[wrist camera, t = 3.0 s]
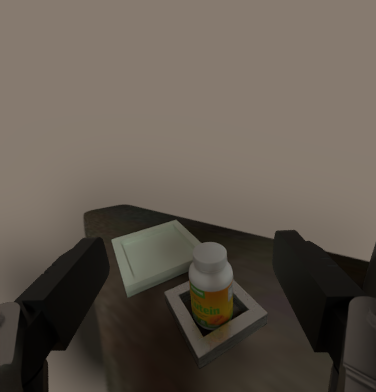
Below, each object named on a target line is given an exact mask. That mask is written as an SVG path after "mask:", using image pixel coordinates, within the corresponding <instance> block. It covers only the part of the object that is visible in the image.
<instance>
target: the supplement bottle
mask: <svg viewBox="0 0 376 392" xmlns="http://www.w3.org/2000/svg"><path fill="white" fill-rule="evenodd" d="M192 254H193V262H192V264H191V265H190V267H189V285H190V295H191V306H192V314H193V317H194V319H195V321H196V322H197V324H198V325H200V326H201V327H203V328H205V329H207V330H216V329H218V328H220V327H221V326H223V325H224V324H226V323H228V322H229V321H231V319H232V315H233V271H232V267H231V265H230V264H229V263H228V262H227V252H226V249H225V248H224V247H223V246H222V245H220V244H218V243H215V242H205V243H201V244H199V245H197V246H196V247H195V248H194V249H193V253H192Z"/></svg>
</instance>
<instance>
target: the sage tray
mask: <svg viewBox="0 0 376 392" xmlns="http://www.w3.org/2000/svg"><path fill="white" fill-rule="evenodd" d="M112 244H113V248H114V252H115V255H116V259H117V262H118V266H119V269H120V273H121V276H122V280H123V283H124V287H125V290H126V294H127V297H130V296H133V295H135V294H137V293H139V292H142V291H144V290H146V289H149V288H151V287H153V286H156V285H158V284H160V283H163V282H165V281H167V280H170V279H172V278H174V277H176V276H179V275H181V274H183V273H186V272H188V271H189V267H190V265H191V264H192V262H193V254H192V253H193V249H194V248H195V247H196V246H197V245H199V244H201V242H199V241H198V240H197V239H196V238H195V237H194V236H193V235H192V234H191V233H190V232H189V231H188V230H187V229H186V228H185V227H183V226H182V225H181V224H180V223H179V222H178V221H177V220H174V221H171V222H167V223H164V224H161V225H158V226H154V227H151V228H148V229H145V230H141V231H138V232H135V233H131V234H128V235H125V236H122V237H118V238H115V239H112Z"/></svg>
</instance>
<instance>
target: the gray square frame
mask: <svg viewBox="0 0 376 392" xmlns="http://www.w3.org/2000/svg"><path fill="white" fill-rule="evenodd" d="M164 294H165V300H166V303H167V305H168V307H169V309H170V311H171V313H172V315H173V317H174V319H175V321H176V323H177V325H178V327H179V329H180V331H181V333H182V335H183V337H184V339H185V341H186V343H187V345H188V347H189V349H190V351H191V353H192V355H193V357H194V359H195V361H196V363H197V365H198V367H199V369H201V368H202V367H204V366H205V365H207V364H208V363H210V362H211V361H213V360H214V359H216V358H217V357H219V356H220V355H221V354H223V353H224V352H226V351H227V350H229V349H230V348H232V347H233V346H235V345H236V344H238V343H239V342H241V341H242V340H244V339H245V338H247V337H248V336H250V335H251V334H253V333H254V332H256V331H257V330H259V329H260V328H261V327H263V326H264V325H266V324H267V316H268V313H267V312H266V311H265V310H264V309H263V308H262V307H261V306H260V305H259V304H258V303H257V302H256V301H255V300H254V299H253V298H252V297H251V296H250V295H249V294H248V293H246V292H245V291H244V290H243V289H242V288H241V287H240V286H239V285H238V284H237V283H236V282H235V281H234V280H233V303H234V304H235V305H236V306H237V307H238V308H239V309H240V311H241V312H242V313H243V314H241V315H239V316H238V317H236V318H234V319H233V320H231V321H229V322H228V323H226V324H224V325H223V326H221V327H220V328H218V329H216V330H215V331H213V332H211V333H210V334H208V335H206V336H205V337H203V336H202V334H201V332H200V331H199V329H198V327H197V326H196V324H195V322H194V321H193V319H192V317H191V315H190V314H189V312H188V310H187V309H186V307H185V305H184V304H183V303H184V302H186V301H188V300H190V299H191V295H190V285H189V281H188V282H185V283H183V284H181V285H179V286H177V287H174V288H172V289H170V290H168V291H166V292H164Z"/></svg>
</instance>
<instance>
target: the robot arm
mask: <svg viewBox="0 0 376 392" xmlns="http://www.w3.org/2000/svg"><path fill="white" fill-rule="evenodd" d="M272 262H273V269H274V272H275V275H276V277H277V279H278V281H279V283H280V285H281V287H282V289H283V291H284V293H285V295H286V297H287V299H288V301H289V303H290V305H291V307H292V309H293V311H294V313H295V315H296V317H297V319H298V321H299V323H300V325H301V327H302V329H303V330H304V332H305V334H306V336H307V338H308V340H309V342H310V344H311V346H312V348H313V350H314V352H328V353H329V355H330V357H331V359H332V360H333V364H332V368H331V375H330V381H329V388H328V392H376V243H375V247H374V250H373V253H372V256H371V260H370V263H369V266H368V269H367V273H366V276H365V279H364V283H363V290H362V289H361V288H360V287H359V286H358V285H357V284H356V283H355V282H354V281H353V280H352V279H351V278H350V277H349V276H348V275H347V274H346V273H345V271H344V270H343V269H342V268H341V267H338V264H337V263H336V262H335V261H334V260H333V259H331V258H330V256H329V255H328V254H327V253H326V252H325V251H324V250H323V249H322V248H320V247H319V246H317V245H316V244H314V243H312V242H310V241H305V240H304V239H303V238H302V237H301V236H300V235H299V233H298V232H297V231H295V230H283V231H276V233H275V237H274V248H273V260H272ZM109 269H110V266H109V261H108V257H107V253H106V249H105V245H104V242H103V239H102V238H100V237H92V238H83V239H81V240H80V241H79V243H78V244H76V245H75V247H74V248H73V249H71V250H69V251H68V252H66V253H65V254H63V255H61V256H60V257H59V258H58V259H57V260H56V261H55V262H54V263H53V264H52V266H50V267H49V268H48V269H47V270H46V271H45V272H44V274H41V276H40V277H39V278H37V279H36V280H35V282H33V284H31V285H30V286H29V287H28V288H27V289H26V290H25V291H24V292H23V293H22V294H21V295H20V296H19V297H18V298H17V299H16V300H15V301H14V302H7V303H3V304H0V392H48V362H47V360H46V358H47V356H48V354H49V353H50V351H52V350H53V351H54V350H56V351H57V350H58V351H60V350H61V351H62V350H63V351H65V350H66V348H67V347H68V345H69V343H70V341H71V340H72V338H73V336H74V335H75V333H76V331H77V329H78V327H79V326H80V324H81V322H82V321H83V319H84V317H85V315H86V314H87V312H88V310H89V309H90V307H91V305H92V303H93V302H94V300H95V298H96V296H97V295H98V293H99V291H100V290H101V288H102V286H103V284H104V283H105V281H106V279H107V277H108V275H109Z"/></svg>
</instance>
